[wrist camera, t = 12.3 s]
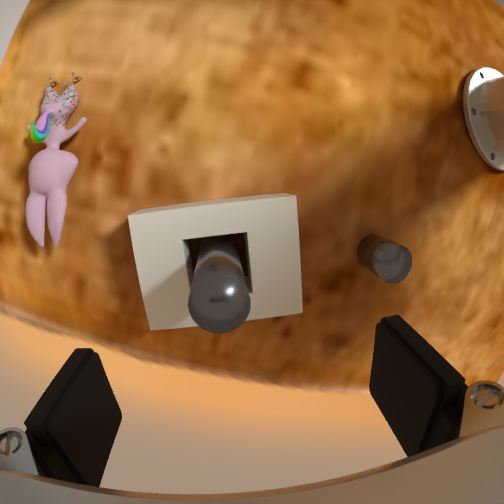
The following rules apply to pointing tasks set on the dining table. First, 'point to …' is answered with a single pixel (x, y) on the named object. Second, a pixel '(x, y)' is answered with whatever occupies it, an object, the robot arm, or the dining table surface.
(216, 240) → the long pin
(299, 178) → the dining table surface
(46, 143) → the pink toy figurine
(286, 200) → the hole block
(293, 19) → the dining table surface
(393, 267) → the short pin
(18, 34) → the dining table surface
